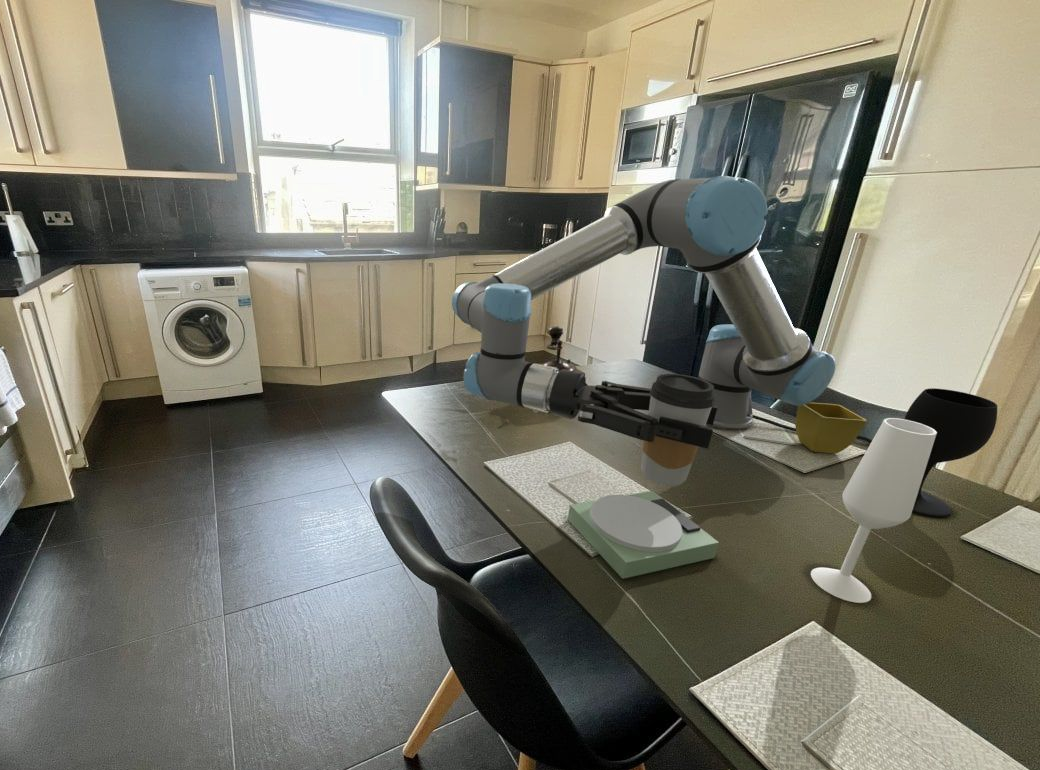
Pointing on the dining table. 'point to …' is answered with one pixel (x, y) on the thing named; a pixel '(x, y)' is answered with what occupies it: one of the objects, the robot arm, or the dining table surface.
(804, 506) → the dining table surface
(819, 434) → the flower pot
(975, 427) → the wine glass
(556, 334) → the brown coffee grinder
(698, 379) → the coffee cup
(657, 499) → the kitchen scale
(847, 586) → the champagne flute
